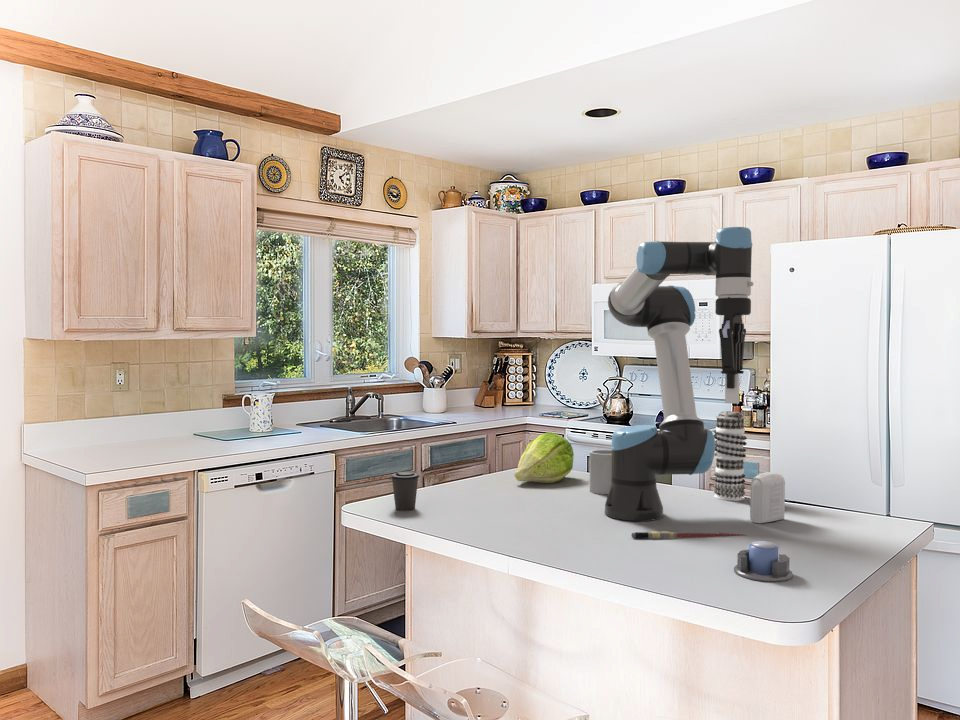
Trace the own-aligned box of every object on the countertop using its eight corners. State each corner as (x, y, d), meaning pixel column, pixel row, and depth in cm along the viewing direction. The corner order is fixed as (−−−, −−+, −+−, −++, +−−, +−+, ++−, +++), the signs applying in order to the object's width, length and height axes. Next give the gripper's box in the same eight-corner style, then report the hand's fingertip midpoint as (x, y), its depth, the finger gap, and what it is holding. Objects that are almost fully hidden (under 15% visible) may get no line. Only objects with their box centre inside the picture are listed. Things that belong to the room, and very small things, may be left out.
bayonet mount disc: (727, 575, 152) (727, 558, 152) (742, 561, 161) (742, 545, 161) (785, 585, 146) (785, 567, 146) (798, 570, 155) (798, 553, 155)
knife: (627, 536, 183) (633, 540, 178) (627, 529, 183) (633, 532, 178) (742, 536, 187) (752, 540, 182) (742, 529, 187) (752, 532, 182)
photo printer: (772, 516, 201) (773, 469, 201) (787, 519, 197) (787, 471, 197) (747, 521, 195) (747, 473, 195) (761, 525, 192) (762, 476, 191)
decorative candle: (706, 495, 226) (706, 411, 225) (730, 493, 230) (731, 410, 229) (727, 502, 218) (728, 414, 217) (752, 499, 221) (753, 412, 220)
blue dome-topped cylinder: (745, 572, 153) (746, 545, 153) (752, 565, 157) (753, 538, 157) (774, 576, 150) (774, 549, 149) (780, 569, 154) (781, 543, 154)
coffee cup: (385, 510, 208) (384, 473, 208) (399, 504, 216) (398, 468, 216) (411, 512, 205) (411, 475, 205) (425, 506, 213) (424, 470, 213)
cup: (622, 494, 228) (622, 454, 228) (591, 494, 228) (591, 454, 228) (617, 488, 237) (617, 449, 237) (587, 488, 237) (587, 449, 237)
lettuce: (541, 501, 237) (505, 497, 248) (588, 467, 253) (552, 465, 265) (528, 456, 234) (492, 455, 245) (577, 425, 250) (541, 425, 262)
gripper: (742, 295, 163) (741, 406, 164) (758, 298, 174) (756, 401, 175) (707, 296, 168) (706, 404, 168) (724, 298, 178) (723, 400, 179)
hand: (732, 402), depth 172 cm, fingers closed
